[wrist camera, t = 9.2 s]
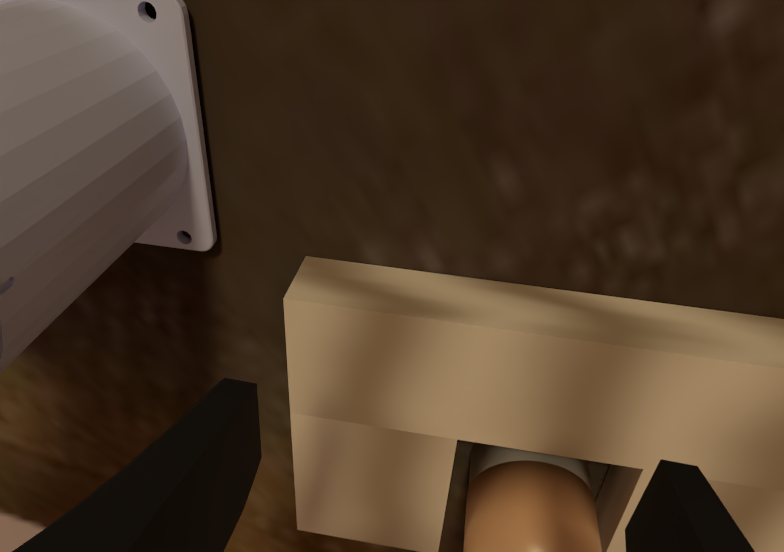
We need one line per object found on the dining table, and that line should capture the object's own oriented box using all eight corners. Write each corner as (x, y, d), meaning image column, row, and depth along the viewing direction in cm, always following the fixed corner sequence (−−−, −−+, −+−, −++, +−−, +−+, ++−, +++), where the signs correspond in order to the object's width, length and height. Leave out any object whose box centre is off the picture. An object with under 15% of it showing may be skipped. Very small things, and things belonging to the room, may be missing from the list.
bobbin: (457, 481, 26) (440, 689, 19) (486, 406, 23) (479, 619, 16) (564, 508, 25) (585, 728, 19) (606, 436, 23) (648, 663, 16)
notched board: (313, 480, 27) (297, 529, 25) (305, 256, 20) (283, 298, 18) (727, 550, 25) (747, 610, 23) (870, 330, 18) (916, 387, 16)
